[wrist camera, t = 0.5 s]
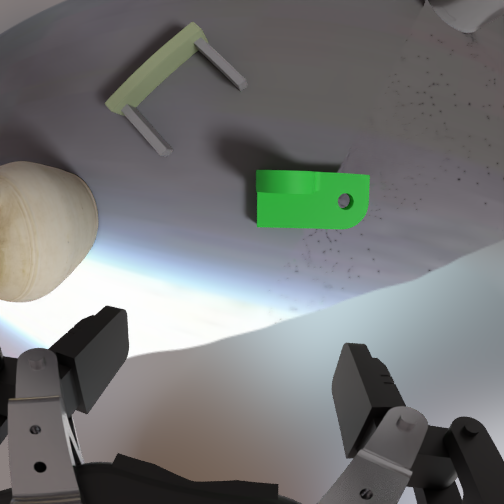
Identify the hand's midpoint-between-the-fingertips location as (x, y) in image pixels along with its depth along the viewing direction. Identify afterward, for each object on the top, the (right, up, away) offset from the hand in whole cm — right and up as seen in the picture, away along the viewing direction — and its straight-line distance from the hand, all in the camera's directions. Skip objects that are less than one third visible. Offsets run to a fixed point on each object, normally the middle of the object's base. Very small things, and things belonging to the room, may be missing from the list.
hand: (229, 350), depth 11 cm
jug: (-24, +8, +26) cm, 36 cm away
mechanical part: (+7, +9, +24) cm, 27 cm away
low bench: (-7, +21, +21) cm, 31 cm away
